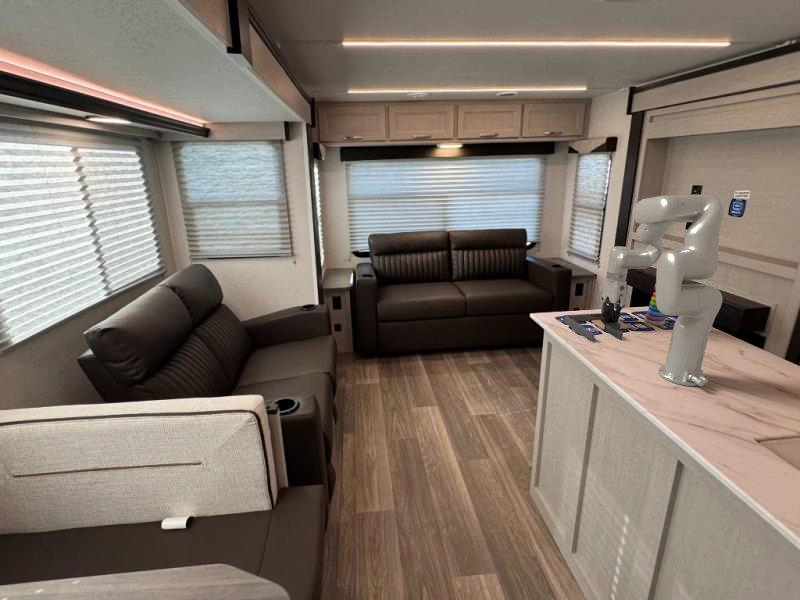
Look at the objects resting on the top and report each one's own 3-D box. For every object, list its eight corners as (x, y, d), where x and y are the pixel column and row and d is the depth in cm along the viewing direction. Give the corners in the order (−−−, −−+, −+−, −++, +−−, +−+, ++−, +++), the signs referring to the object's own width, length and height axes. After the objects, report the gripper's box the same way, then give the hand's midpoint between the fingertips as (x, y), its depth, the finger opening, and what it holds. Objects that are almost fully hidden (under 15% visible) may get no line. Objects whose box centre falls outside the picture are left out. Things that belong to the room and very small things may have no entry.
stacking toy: (668, 326, 175) (677, 284, 169) (650, 326, 175) (658, 284, 169) (658, 319, 182) (666, 279, 176) (640, 319, 182) (647, 279, 177)
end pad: (630, 328, 173) (630, 327, 173) (604, 329, 172) (604, 328, 172) (616, 319, 183) (616, 318, 183) (591, 321, 182) (591, 320, 181)
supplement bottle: (612, 319, 180) (616, 293, 176) (620, 325, 174) (625, 298, 170) (597, 319, 180) (601, 294, 176) (605, 325, 174) (609, 298, 170)
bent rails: (634, 339, 162) (635, 332, 161) (591, 341, 160) (592, 335, 160) (601, 319, 184) (602, 313, 183) (563, 321, 182) (563, 315, 181)
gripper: (638, 281, 163) (631, 322, 168) (612, 270, 179) (606, 308, 184) (620, 281, 162) (614, 323, 167) (596, 271, 178) (590, 309, 184)
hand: (610, 315), depth 176 cm, fingers closed on supplement bottle, 6 cm apart
